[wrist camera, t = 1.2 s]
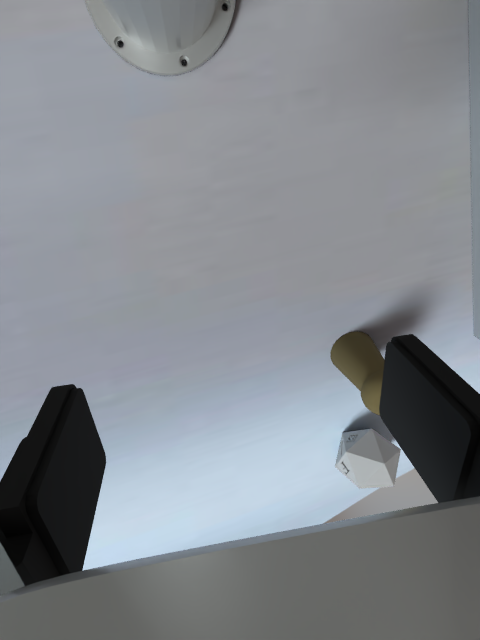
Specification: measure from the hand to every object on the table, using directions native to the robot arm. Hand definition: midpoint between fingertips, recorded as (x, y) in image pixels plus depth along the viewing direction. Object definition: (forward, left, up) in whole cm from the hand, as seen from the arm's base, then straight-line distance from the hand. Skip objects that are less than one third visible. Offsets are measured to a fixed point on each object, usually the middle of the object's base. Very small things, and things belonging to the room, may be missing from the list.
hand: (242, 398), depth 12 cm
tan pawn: (+24, +13, -32) cm, 42 cm away
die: (+40, +11, -32) cm, 52 cm away
